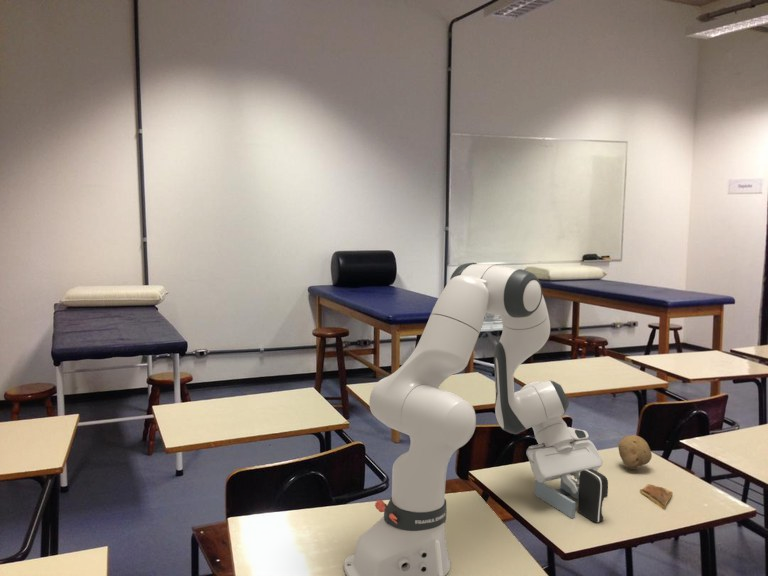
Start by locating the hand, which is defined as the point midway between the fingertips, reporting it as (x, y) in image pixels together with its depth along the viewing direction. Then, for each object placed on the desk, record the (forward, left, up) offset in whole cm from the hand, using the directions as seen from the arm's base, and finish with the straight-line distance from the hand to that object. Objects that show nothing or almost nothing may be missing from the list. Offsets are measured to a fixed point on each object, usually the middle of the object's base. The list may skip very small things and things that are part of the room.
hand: (580, 491), depth 160 cm
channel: (0, +4, -5) cm, 7 cm away
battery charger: (+1, -4, -5) cm, 6 cm away
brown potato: (+33, +13, -5) cm, 36 cm away
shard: (+25, -4, -6) cm, 26 cm away
